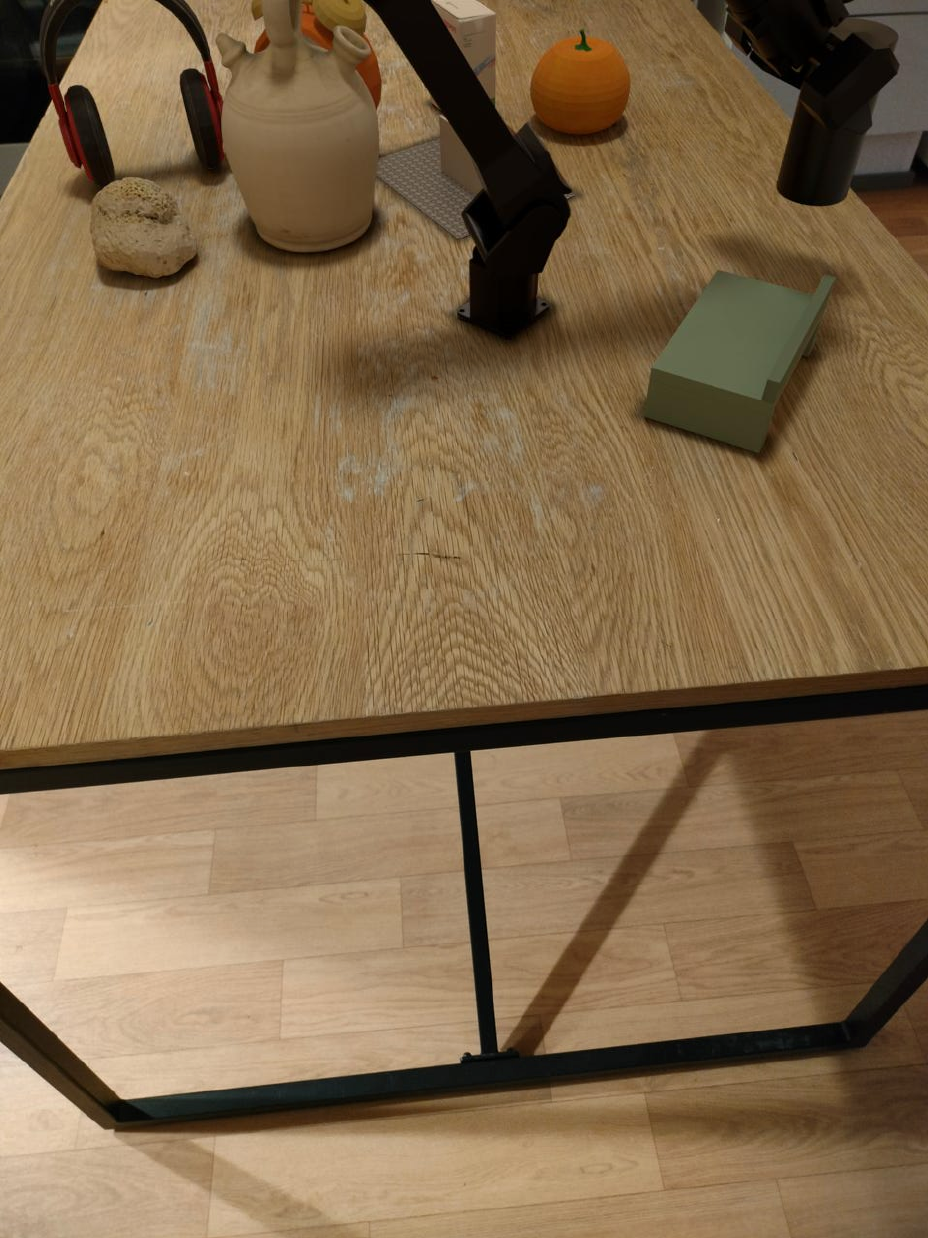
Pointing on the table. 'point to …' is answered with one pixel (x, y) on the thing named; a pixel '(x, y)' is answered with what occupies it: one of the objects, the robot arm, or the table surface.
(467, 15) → the ink box
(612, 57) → the fruit
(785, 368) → the olive lipped block
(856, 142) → the canister
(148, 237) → the decorative item
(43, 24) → the headphones
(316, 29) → the alarm clock
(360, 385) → the table surface
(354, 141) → the jug
